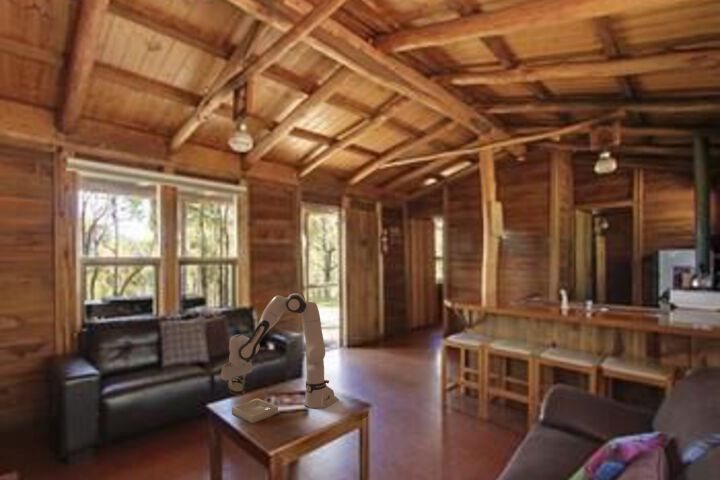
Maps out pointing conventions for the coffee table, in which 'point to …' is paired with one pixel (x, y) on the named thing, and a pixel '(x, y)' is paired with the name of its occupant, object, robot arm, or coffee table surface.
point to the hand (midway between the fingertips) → (237, 383)
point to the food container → (237, 385)
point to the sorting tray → (254, 410)
